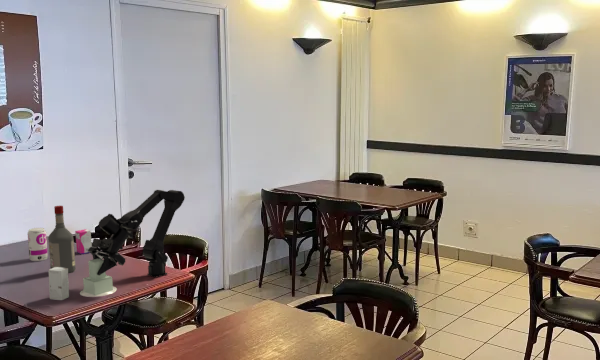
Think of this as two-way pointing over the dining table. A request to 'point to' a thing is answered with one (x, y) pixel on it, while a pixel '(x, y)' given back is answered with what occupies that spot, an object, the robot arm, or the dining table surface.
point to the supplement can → (37, 244)
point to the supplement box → (83, 241)
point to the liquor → (61, 244)
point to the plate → (98, 294)
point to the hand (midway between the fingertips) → (94, 273)
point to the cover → (97, 279)
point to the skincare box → (58, 283)
